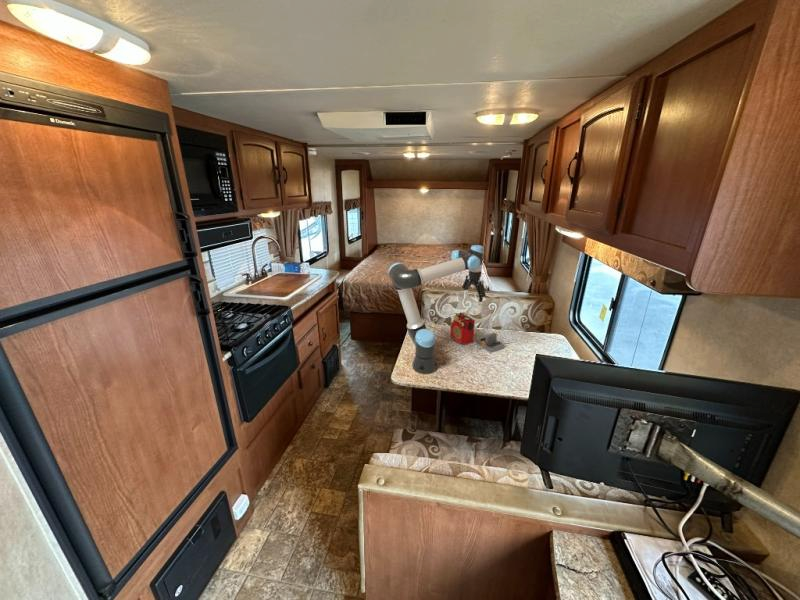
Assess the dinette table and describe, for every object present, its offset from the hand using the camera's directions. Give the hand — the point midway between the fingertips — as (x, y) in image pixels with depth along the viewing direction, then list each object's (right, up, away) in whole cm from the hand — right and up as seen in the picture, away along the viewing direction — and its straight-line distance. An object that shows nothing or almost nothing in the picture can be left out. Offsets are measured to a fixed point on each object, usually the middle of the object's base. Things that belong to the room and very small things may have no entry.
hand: (472, 302), depth 198 cm
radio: (-2, -27, +24) cm, 37 cm away
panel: (+16, -30, +16) cm, 38 cm away
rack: (+16, -30, +17) cm, 38 cm away
